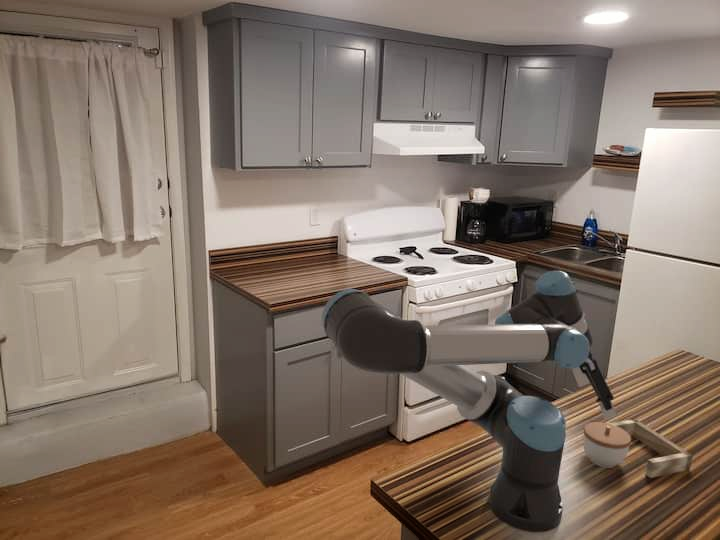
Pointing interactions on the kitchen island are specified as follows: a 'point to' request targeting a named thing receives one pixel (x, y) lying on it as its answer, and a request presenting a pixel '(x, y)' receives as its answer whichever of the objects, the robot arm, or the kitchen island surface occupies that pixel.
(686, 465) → the birch dock
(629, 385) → the kitchen island surface
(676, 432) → the kitchen island surface
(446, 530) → the kitchen island surface
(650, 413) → the kitchen island surface
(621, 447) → the lidded jar
